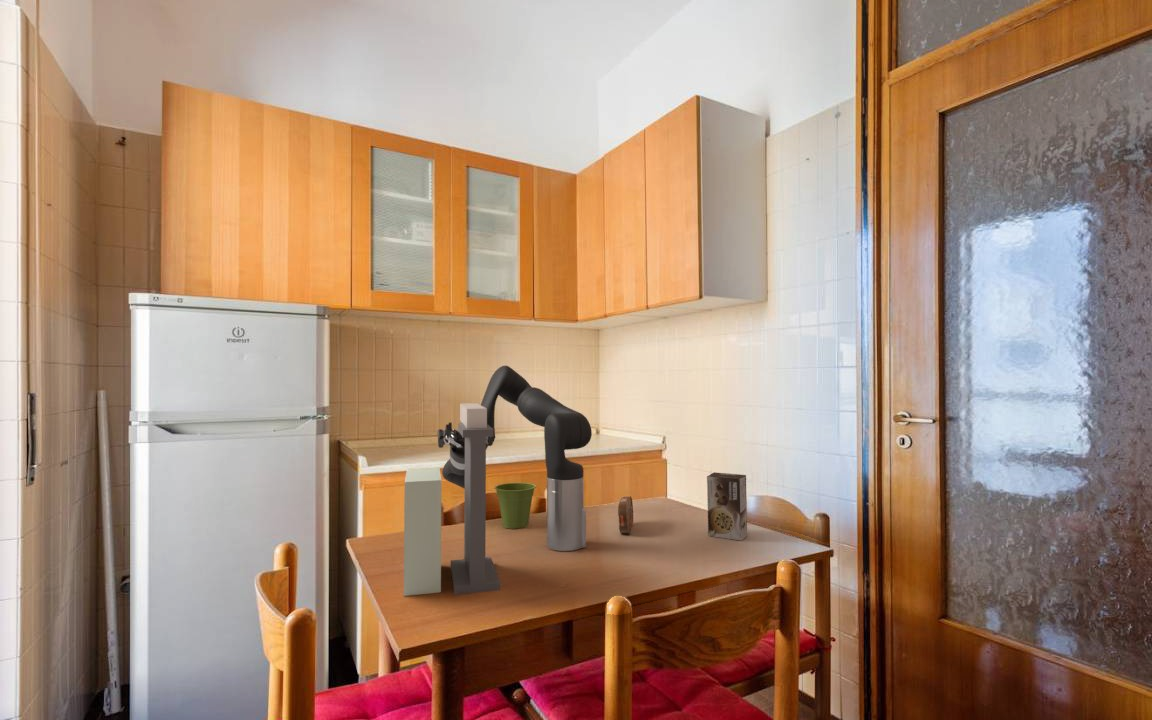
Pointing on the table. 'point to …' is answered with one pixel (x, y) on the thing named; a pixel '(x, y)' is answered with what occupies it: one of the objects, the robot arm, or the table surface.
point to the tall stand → (474, 519)
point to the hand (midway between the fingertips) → (468, 425)
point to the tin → (625, 515)
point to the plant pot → (515, 503)
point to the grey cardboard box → (727, 506)
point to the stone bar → (473, 415)
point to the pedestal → (422, 531)
